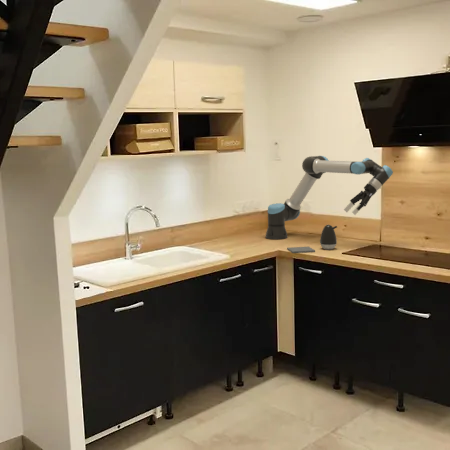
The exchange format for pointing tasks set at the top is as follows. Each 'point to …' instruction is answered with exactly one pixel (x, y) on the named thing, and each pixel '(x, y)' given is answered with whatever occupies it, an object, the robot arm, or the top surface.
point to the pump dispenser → (328, 237)
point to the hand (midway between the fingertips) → (349, 212)
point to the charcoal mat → (300, 249)
